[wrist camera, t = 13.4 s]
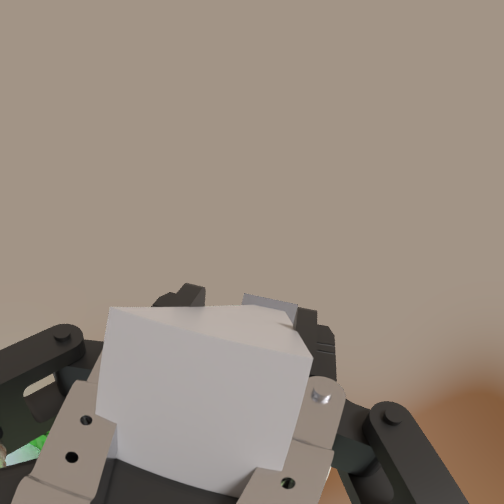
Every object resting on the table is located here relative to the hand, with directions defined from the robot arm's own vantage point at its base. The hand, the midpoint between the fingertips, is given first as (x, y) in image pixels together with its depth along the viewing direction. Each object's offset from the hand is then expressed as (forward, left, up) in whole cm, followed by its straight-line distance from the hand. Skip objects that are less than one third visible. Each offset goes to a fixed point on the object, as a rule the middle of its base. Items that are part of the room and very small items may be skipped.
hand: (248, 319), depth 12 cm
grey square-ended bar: (-6, +10, -3) cm, 12 cm away
